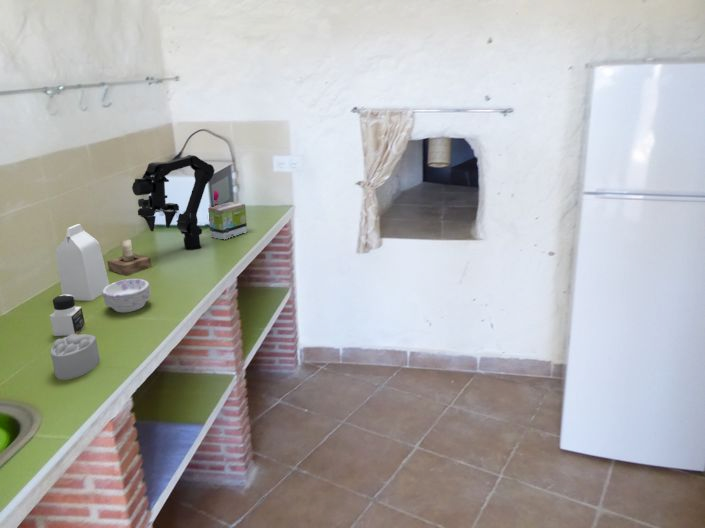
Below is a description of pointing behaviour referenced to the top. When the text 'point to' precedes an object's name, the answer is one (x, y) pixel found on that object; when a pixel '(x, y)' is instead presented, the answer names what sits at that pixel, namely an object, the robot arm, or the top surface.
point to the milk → (81, 265)
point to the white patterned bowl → (127, 295)
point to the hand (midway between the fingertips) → (160, 229)
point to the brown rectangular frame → (129, 264)
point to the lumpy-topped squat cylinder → (74, 355)
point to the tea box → (227, 220)
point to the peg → (127, 250)
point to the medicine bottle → (66, 316)
